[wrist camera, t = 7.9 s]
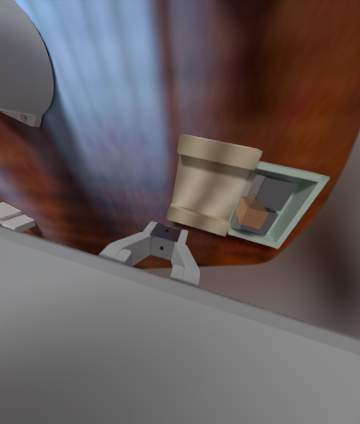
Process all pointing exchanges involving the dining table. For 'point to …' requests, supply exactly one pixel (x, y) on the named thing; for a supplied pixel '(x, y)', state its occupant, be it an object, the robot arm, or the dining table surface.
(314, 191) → the tray
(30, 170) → the dining table surface
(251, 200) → the block
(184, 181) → the slot board
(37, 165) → the dining table surface
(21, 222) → the white stepped block
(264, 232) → the chip
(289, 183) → the dark grey block
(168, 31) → the dining table surface
